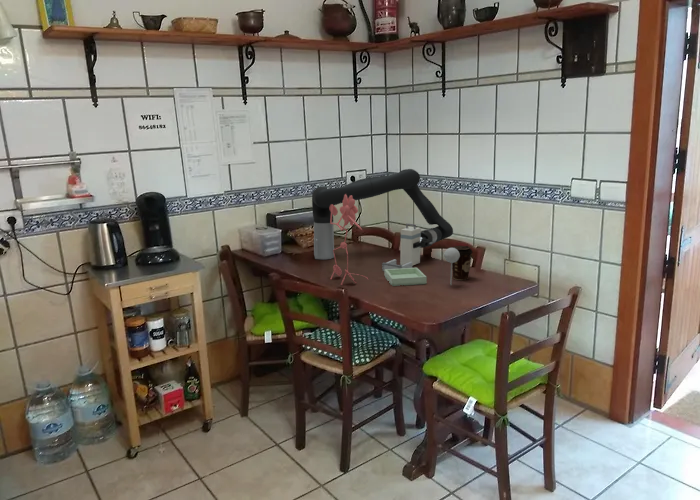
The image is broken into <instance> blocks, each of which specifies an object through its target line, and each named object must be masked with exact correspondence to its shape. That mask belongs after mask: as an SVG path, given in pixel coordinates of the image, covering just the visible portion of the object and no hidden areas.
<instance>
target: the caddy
mask: <svg viewBox="0 0 700 500" xmlns="http://www.w3.org/2000/svg"><path fill="white" fill-rule="evenodd" d="M416 225H417V224H414V223H406V224H405V228H402V229H401V228H400V259H399V261H400V262H399V265H401V266H402V265H404V264H406V263H409V262H412V267H413V266H415V265H417V264H420V263H421V248H420V247H417V248H413V243H416V242H418V241H420V237H421V231H422V228H421V227H416Z"/></svg>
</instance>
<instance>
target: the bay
mask: <svg viewBox="0 0 700 500" xmlns="http://www.w3.org/2000/svg"><path fill="white" fill-rule="evenodd" d="M401 268H413V266H412V262H409V263H406V264H404V265H400V264H397V259H392V260H389V261H387V262H382V263H381V270H382V272H384V269H401Z"/></svg>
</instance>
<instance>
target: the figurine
mask: <svg viewBox="0 0 700 500" xmlns="http://www.w3.org/2000/svg"><path fill="white" fill-rule="evenodd" d="M355 203H356V200H354V199H353V197H352V195H351V196H350V197H349V198H347V195H346V194H345V195H344V199H343V203H342V206H340V207H339V211H338V209H337V207H336V205H333V204H332V205H330V207H329V210H330V212H331V218H330V224H333V225H336V226H337V227H339V229H340V231H341V232H343V231H345V235H344V241H343V242H340V246H339V247H336V248H334V250H333V253H334V258H333V259H334V262H335V264H334V265H333V266H332V270H333V271H332V274H331V277H330V280H332V279H333V277H334V276H335V275H334V274H336V275H337V276H338V277H340V276H341V275H342V274H343V273H342V272H343V271H342V269H341V267H340V266H339V265H337V260H336V255H335V251H336V250H337V249H340V248H341V250H342V249H344V250H345V251H346V269H344V271H345V272H344V276H343V279H342V281H341V283H340V285H341V286H343V283H344V281H345V279H346V277H347V275H348V276H349V278H350V279H351V280H352V281H353V282H354V283H355V284H357V281H356V280H355V278H354V277H353V276H352V275H357V276H359V274H358V273H352V272H349V253H348V243H346V241H347V235H348V232H349V231H348V229H346V227H345V226H348V225H349V224H350V226H351V227H353V225H355V226H356V227H357V228H358V229H359V230H361V231H363V229H362V227H361V226H360V225H359V224H358V223H357V221H356V219H357V217H356V214H357V213H358V211H359V209H358V207H357V206H356V205H355ZM338 212H340V213H341V217H340V219H339V220H338V222H333V223H331V222H332V214H333V217H336V215H338ZM342 219H343V221H344V222H343V223H344V224H343V226H342V225H340V223H341V220H342ZM360 276H361V277H365V278H366V279H367V280H369V279H368V277H367V276H366V275H361V274H360Z"/></svg>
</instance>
